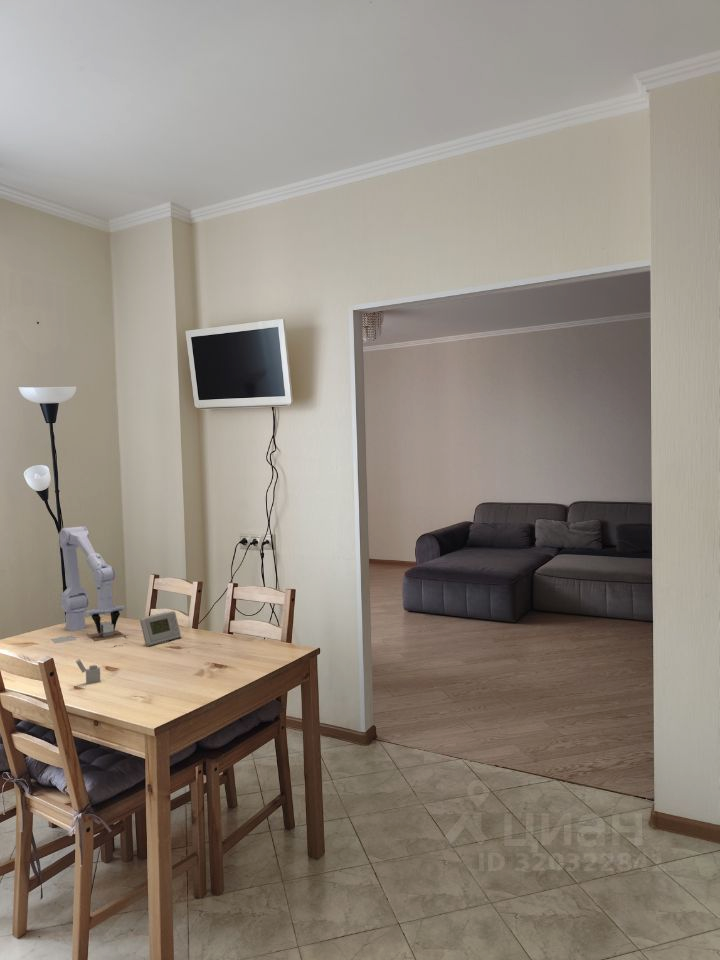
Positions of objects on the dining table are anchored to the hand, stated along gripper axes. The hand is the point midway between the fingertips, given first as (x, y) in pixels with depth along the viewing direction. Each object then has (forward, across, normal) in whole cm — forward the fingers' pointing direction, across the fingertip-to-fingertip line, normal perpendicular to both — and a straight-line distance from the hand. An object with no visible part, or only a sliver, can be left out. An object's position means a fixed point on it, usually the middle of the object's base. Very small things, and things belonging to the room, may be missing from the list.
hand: (106, 631), depth 275 cm
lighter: (+3, -19, -51) cm, 55 cm away
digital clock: (+3, +16, -17) cm, 24 cm away
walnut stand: (+3, 0, 0) cm, 3 cm away
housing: (+2, 0, 0) cm, 2 cm away
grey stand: (+3, -15, +5) cm, 16 cm away
